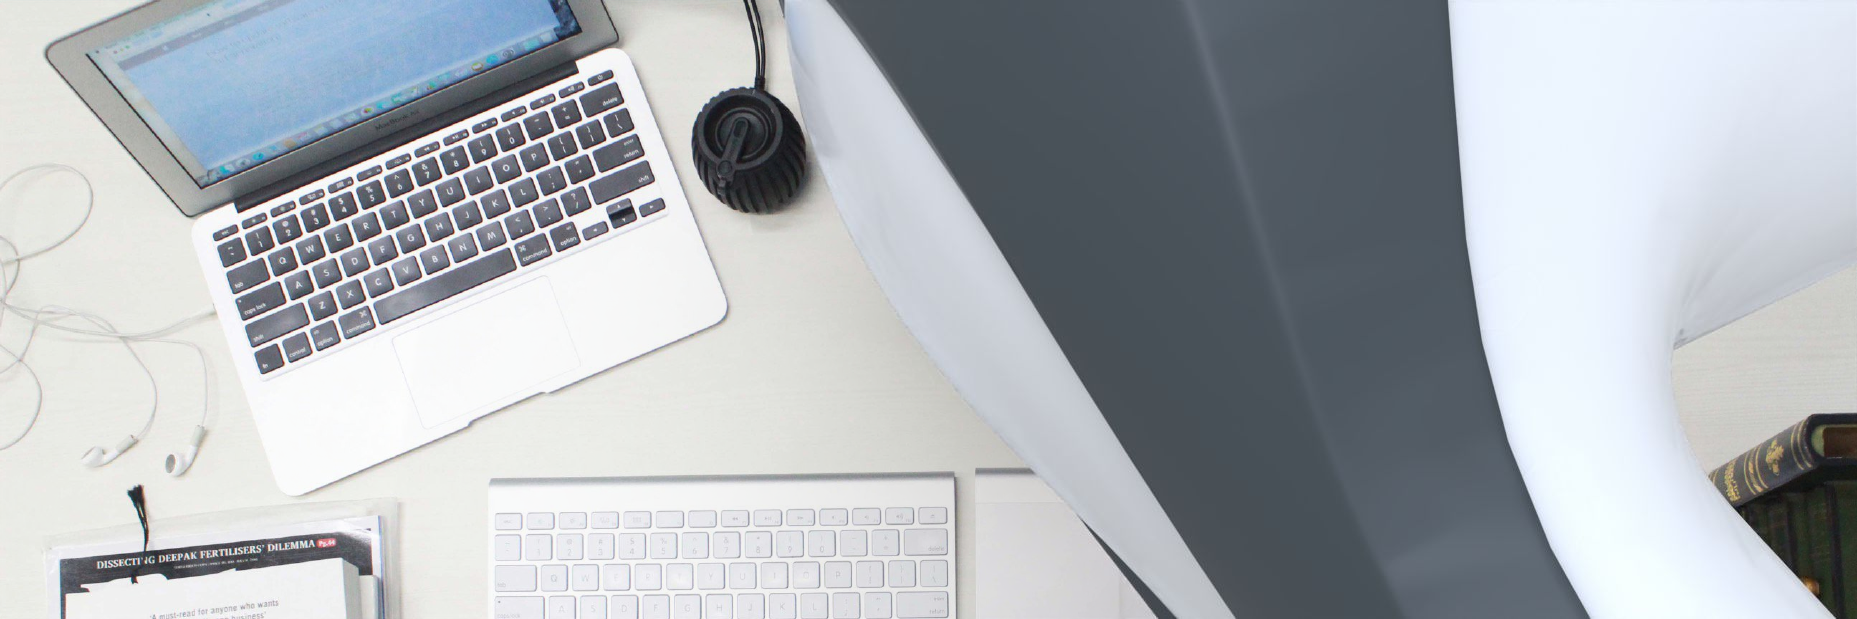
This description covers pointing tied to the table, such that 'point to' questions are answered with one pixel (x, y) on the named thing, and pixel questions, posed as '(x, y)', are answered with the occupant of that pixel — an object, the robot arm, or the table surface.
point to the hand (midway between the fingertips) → (1159, 30)
